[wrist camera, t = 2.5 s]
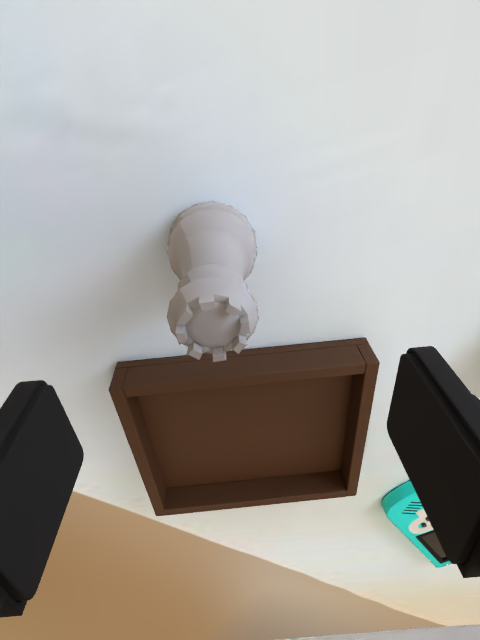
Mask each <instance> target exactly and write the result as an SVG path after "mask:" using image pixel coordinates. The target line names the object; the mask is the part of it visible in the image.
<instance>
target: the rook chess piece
mask: <svg viewBox="0 0 480 640" xmlns="http://www.w3.org/2000/svg"><path fill="white" fill-rule="evenodd" d="M256 248H257V247H256V239H255V231H254V229H253V228H252V226H251V224H250V223H249V221H248V219H247V218H246V216H245V215H243V214H242V213H240V212H239V211H238V210H236V209H235V208H234V207H232V206H230V205H226V204H221V203H217V202H208V203H201V204H195V205H194V206H192V207H190V208H189V209H187V210H186V211H184V212H182V213H181V214H180V215H179V216H178V218H177V219H176V221H175V222H174V224H173V225H172V227H171V228H170V234H169V240H168V256H169V260H170V263H171V267H172V270H173V271H174V273H175V274H176V275H177V276H178V278H179V279H180V280H181V281H180V283H179V286H178V291H177V292H176V294H175V295H174V297H173V298H172V299H171V301H170V302H169V308H168V313H167V319H168V322H169V326H170V329H171V332H172V333H173V334H174V335H175V336H176V337H177V340H178V343H179V344H184V345H186V346H188V351H187V354H188V355H190V356H192V357H194V358H196V359H198V360H199V359H200V357H201V356H202V352H203V353H209V354H213V362H217V361H224V360H226V352H227V351H230V350H232V349H233V350H234V351H235V352H236V353H238V354H239V353H240V352H241V351H242V350H243V349H244V348H245V346H246V345H247V342H246V340H247V339H248V338H249V337H250V336H251V335H252V334H253V333H254V330H255V328H256V325H257V322H258V319H259V317H258V309H257V303H256V301H255V300H254V298H253V297H252V295H251V294H250V292H249V291H248V287H247V284H246V282H245V281H244V280H245V279H246V278H247V277H248V276H249V274H250V273H251V271H252V269H253V266H254V262H255V259H256V256H257V251H256Z"/></svg>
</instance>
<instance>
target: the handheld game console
mask: <svg viewBox="0 0 480 640" xmlns="http://www.w3.org/2000/svg"><path fill="white" fill-rule="evenodd" d="M382 506H383V508H384V511H385V513H386V516H387V517H388V518H389V519H390V520H391V521H392V522H393V524H394V525H395V526H396V527H397V528H398V529H399V530H400V531H401V532H402V533H403V534H404V535H405V536H406V537H407V538H408V539H409V540H410V541H411V542H412V543H413V544H414V545H415V546H416V547H417V548H418V549H419V550H420V551H421V552H422V553H423V554H424V555H425V556H426V557H427V558H428V559H429V560H430V561H431V562H432V563H433V564H434V565H435V566H436V567H443V566H446V564H448V565H449V564H452V563H451V562H450V561H449V560H448V558H447V557H446V555H445V553H444V551H443V549H442V546H441V544H440V542H439V540H438V538H437V536H436V534H435V532H434V530H433V527H432V525H431V523H430V521H429V519H428V517H427V515H426V513H425V510H424V508H423V506H422V504H421V502H420V500H419V498H418V496H417V494H416V491H415V489H414V487H413V485H412V483H411V481H408V482H406V483H404V484H402V485H400V486H399V487H397V488H396V489H394V490H393V491H391V492H390V493H389V494H387V495H386V496H385V498H384V499H383V501H382Z"/></svg>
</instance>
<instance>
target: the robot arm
mask: <svg viewBox="0 0 480 640" xmlns="http://www.w3.org/2000/svg"><path fill="white" fill-rule="evenodd" d="M387 430H388V434H389V436H390V439H391V441H392V443H393V445H394V447H395V449H396V451H397V453H398V455H399V458H400V460H401V462H402V464H403V466H404V468H405V470H406V472H407V475H408V477H409V479H410V481H411V483H412V485H413V487H414V489H415V491H416V494H417V496H418V498H419V500H420V502H421V504H422V506H423V508H424V510H425V513H426V515H427V517H428V519H429V521H430V523H431V525H432V527H433V530H434V532H435V534H436V536H437V538H438V540H439V542H440V544H441V546H442V549H443V551H444V553H445V555H446V557H447V558H448V560H449V561H450V562H451V563H452V564H457V566H458V568H459V570H460V572H461V574H462V576H463V578H469V577H480V400H479V399H478V398H477V397H476V396H475V395H473V394H471V393H470V391H469V390H468V389H467V387H466V386H465V385H464V384H463V382H462V381H461V380H460V379H459V377H458V376H457V375H456V374H455V372H454V371H453V370H452V369H451V367H450V366H449V365H448V364H447V362H446V361H445V360H444V359H443V357H442V356H441V355H440V354H439V352H438V351H437V350H436V349H435V348H434V347H432V346H428V347H416V348H409V349H408V350H407V353H406V354H402V355H401V358H400V362H399V367H398V372H397V376H396V381H395V386H394V391H393V396H392V401H391V405H390V410H389V415H388V420H387ZM83 455H84V453H83V449H82V446H81V444H80V442H79V440H78V438H77V436H76V434H75V432H74V429H73V427H72V425H71V423H70V421H69V419H68V417H67V415H66V413H65V411H64V408H63V406H62V404H61V402H60V400H59V398H58V396H57V394H56V392H55V390H54V388H53V386H51V385H47V383H46V382H45V381H43V380H38V381H27V382H20V383H18V384H17V385H16V386H15V387H14V389H13V390H12V392H11V393H10V395H9V396H8V398H7V400H6V401H5V403H4V404H3V406H2V407H1V409H0V617H10V616H21V615H22V613H23V611H24V608H25V605H26V603H27V600H30V599H31V598H33V596H34V595H35V593H36V591H37V588H38V585H39V583H40V580H41V577H42V574H43V571H44V569H45V566H46V563H47V560H48V558H49V555H50V552H51V549H52V546H53V544H54V541H55V538H56V535H57V532H58V529H59V527H60V524H61V521H62V518H63V515H64V513H65V510H66V507H67V504H68V502H69V499H70V496H71V493H72V490H73V488H74V485H75V482H76V479H77V476H78V474H79V471H80V468H81V465H82V462H83ZM279 640H480V625H464V626H447V627H431V628H415V629H403V630H390V631H377V632H365V633H353V634H341V635H327V636H314V637H302V638H290V639H279Z"/></svg>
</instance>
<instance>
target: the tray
mask: <svg viewBox="0 0 480 640" xmlns="http://www.w3.org/2000/svg"><path fill="white" fill-rule="evenodd" d="M378 368H379V361H378V359H377V357H376V355H375V354H374V352H373V350H372V349H371V347H370V345H369V343H368V341H367V339H366V338H358V339H348V340H338V341H328V342H318V343H308V344H298V345H288V346H277V347H267V348H257V349H247V350H242V351H241V352H240V353H239V354H238V353H236V352H235V351H227V352H226V360H224V361H217V362H213V354H209V353H207V354H202V356H201V357H200V359H199V360H198V359H196V358H194V357H192V356H190V355H187V356H176V357H166V358H156V359H146V360H136V361H126V362H117V365H116V368H115V371H114V374H113V377H112V380H111V384H110V387H109V392H110V394H111V397H112V400H113V402H114V405H115V408H116V410H117V413H118V416H119V418H120V421H121V424H122V426H123V429H124V432H125V434H126V437H127V440H128V442H129V445H130V448H131V450H132V453H133V456H134V458H135V461H136V464H137V466H138V469H139V472H140V474H141V477H142V480H143V482H144V485H145V488H146V490H147V493H148V496H149V498H150V501H151V503H152V506H153V509H154V511H155V514H156V516H163V515H174V514H184V513H193V512H203V511H212V510H222V509H232V508H241V507H251V506H260V505H270V504H280V503H289V502H299V501H309V500H318V499H328V498H337V497H346V496H355V495H356V492H357V487H358V481H359V475H360V470H361V464H362V458H363V453H364V447H365V442H366V436H367V430H368V425H369V419H370V413H371V408H372V402H373V396H374V391H375V385H376V379H377V374H378Z"/></svg>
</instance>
